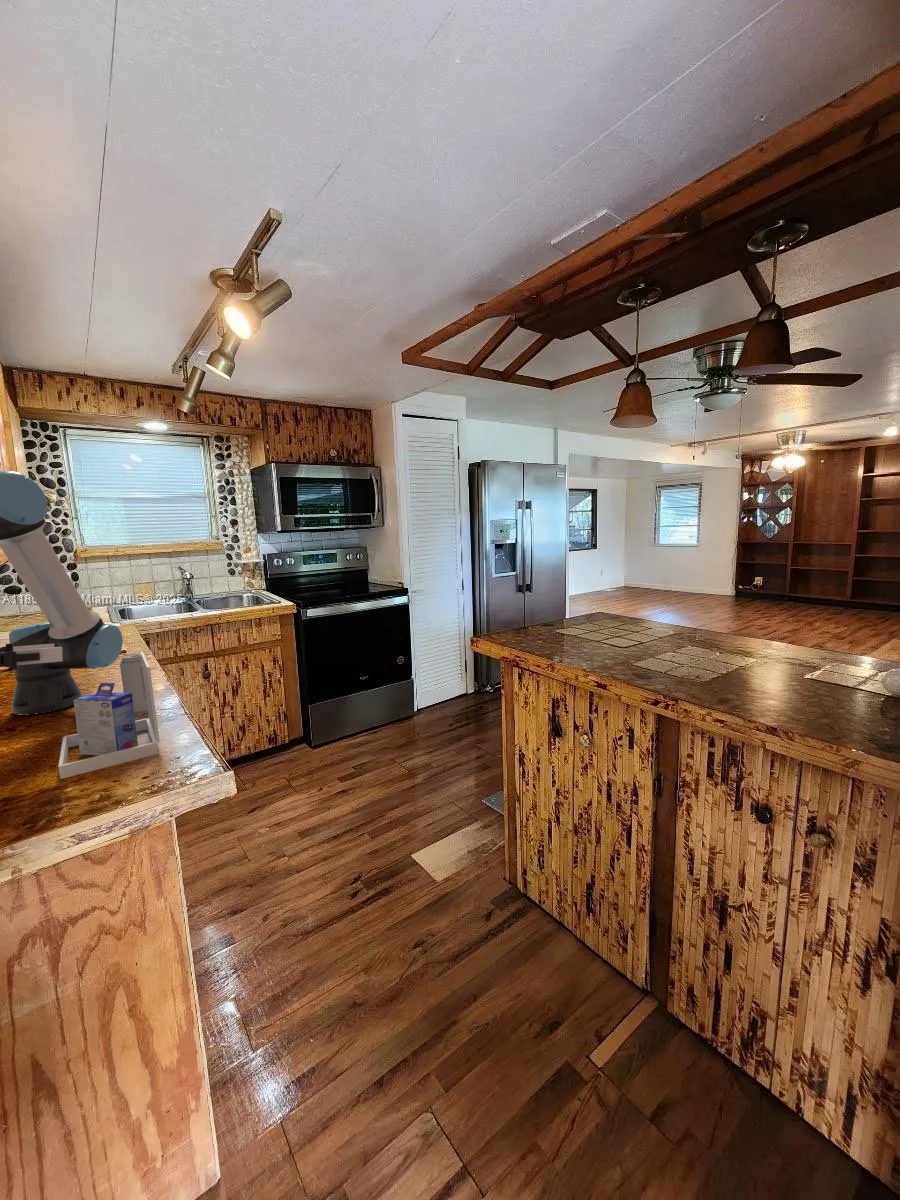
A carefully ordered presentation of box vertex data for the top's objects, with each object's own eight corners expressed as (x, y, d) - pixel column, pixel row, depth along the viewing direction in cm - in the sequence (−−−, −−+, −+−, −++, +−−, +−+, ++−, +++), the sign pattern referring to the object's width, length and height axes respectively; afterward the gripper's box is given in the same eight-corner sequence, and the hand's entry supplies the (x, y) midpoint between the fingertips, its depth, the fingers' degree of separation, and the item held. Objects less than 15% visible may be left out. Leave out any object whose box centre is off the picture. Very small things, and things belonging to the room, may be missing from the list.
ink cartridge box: (140, 746, 105) (132, 681, 103) (118, 758, 100) (109, 690, 98) (102, 744, 108) (93, 680, 106) (79, 755, 102) (68, 688, 100)
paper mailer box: (65, 747, 106) (51, 665, 104) (152, 727, 116) (142, 651, 113) (60, 779, 92) (45, 684, 89) (161, 753, 101) (149, 666, 99)
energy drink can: (132, 709, 129) (124, 654, 127) (157, 706, 131) (150, 652, 129) (122, 717, 124) (114, 659, 122) (149, 714, 125) (141, 657, 123)
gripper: (-92, 679, 93) (52, 665, 108) (-109, 695, 75) (66, 676, 90) (-93, 639, 93) (51, 631, 107) (-111, 646, 75) (64, 635, 89)
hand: (58, 651), depth 99 cm, fingers open, 13 cm apart
